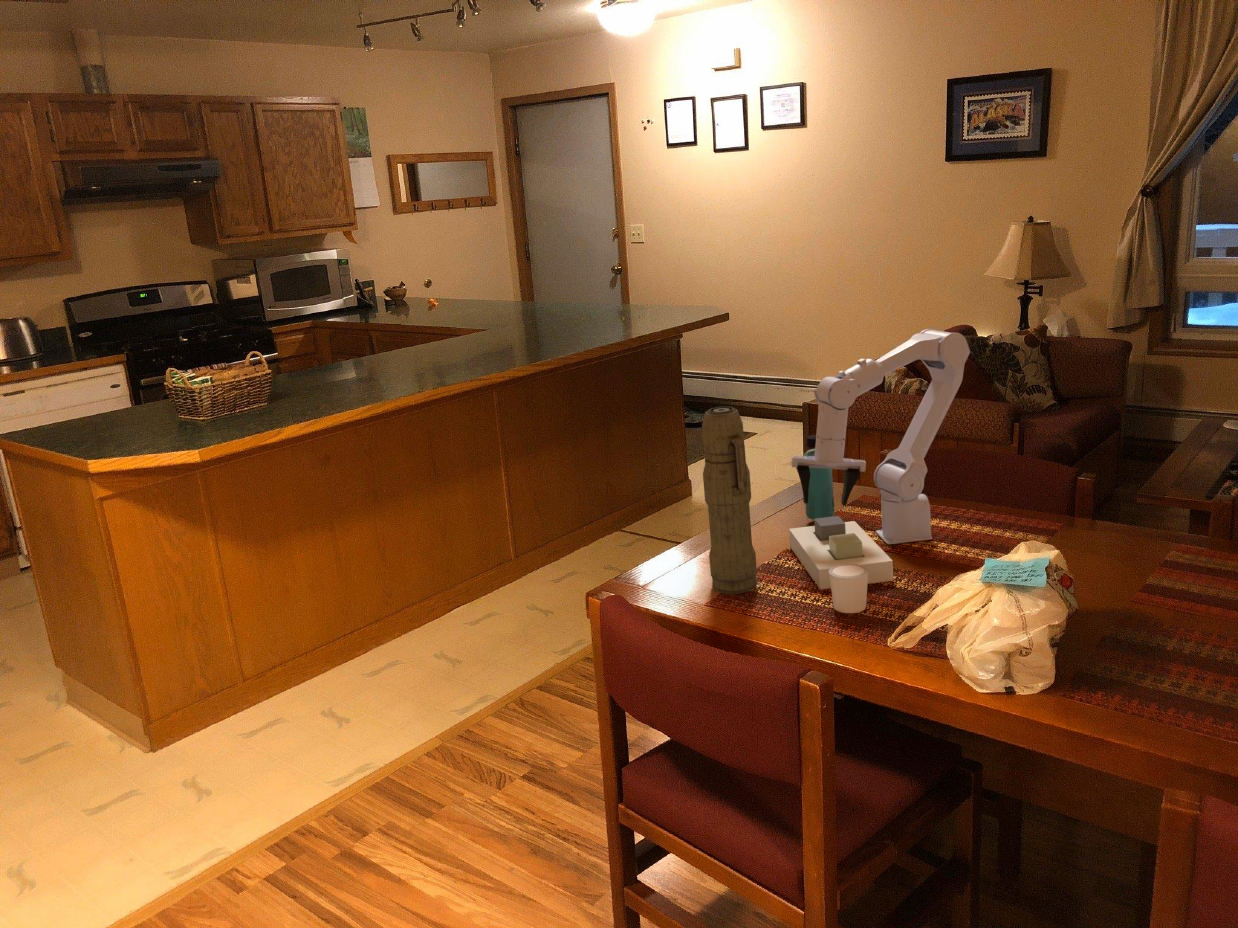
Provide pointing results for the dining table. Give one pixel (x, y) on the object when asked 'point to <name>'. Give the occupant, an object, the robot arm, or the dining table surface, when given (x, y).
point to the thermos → (728, 502)
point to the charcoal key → (829, 527)
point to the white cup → (849, 587)
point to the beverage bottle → (819, 488)
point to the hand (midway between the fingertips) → (824, 503)
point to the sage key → (845, 546)
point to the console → (821, 559)
